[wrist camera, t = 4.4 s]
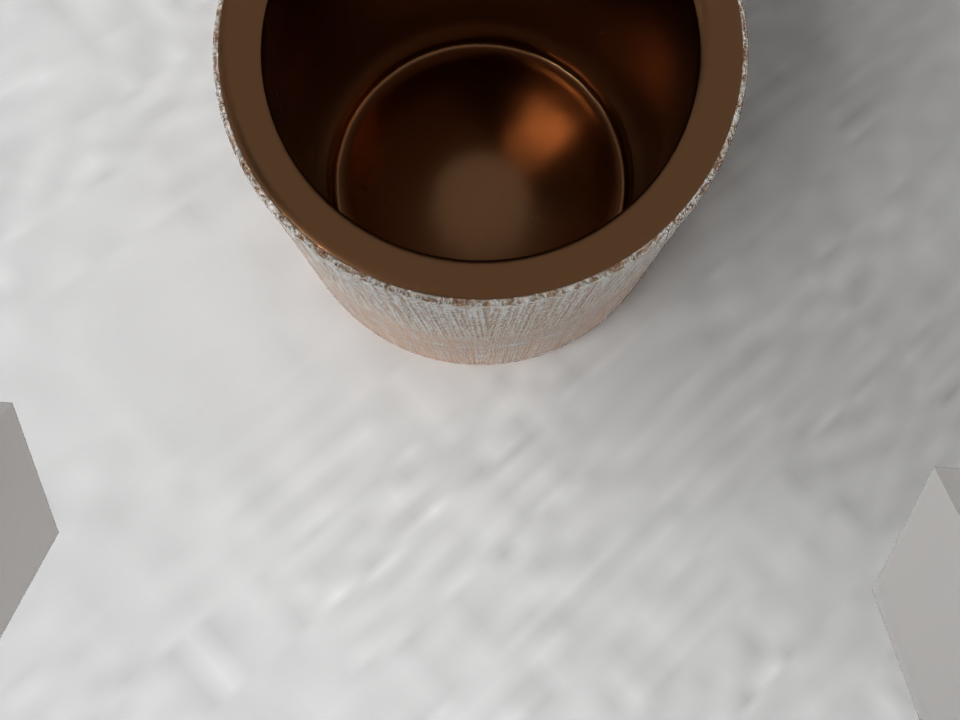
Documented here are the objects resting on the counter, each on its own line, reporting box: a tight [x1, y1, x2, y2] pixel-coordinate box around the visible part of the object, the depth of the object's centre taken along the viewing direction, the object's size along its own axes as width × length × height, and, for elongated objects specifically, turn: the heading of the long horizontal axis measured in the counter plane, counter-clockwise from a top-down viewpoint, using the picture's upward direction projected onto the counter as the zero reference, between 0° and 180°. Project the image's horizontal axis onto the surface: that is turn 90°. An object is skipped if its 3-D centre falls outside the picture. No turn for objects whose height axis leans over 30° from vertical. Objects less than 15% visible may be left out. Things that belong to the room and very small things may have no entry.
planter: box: [213, 0, 748, 365], centre depth 22 cm, size 11×11×10 cm
